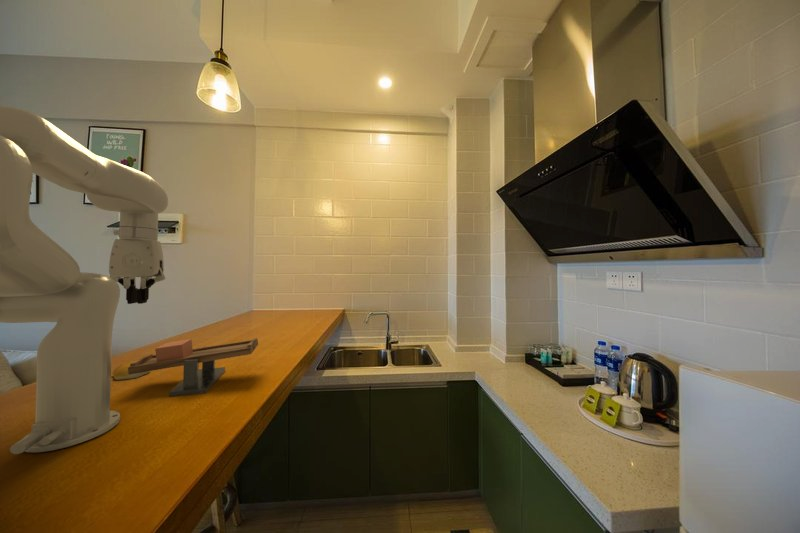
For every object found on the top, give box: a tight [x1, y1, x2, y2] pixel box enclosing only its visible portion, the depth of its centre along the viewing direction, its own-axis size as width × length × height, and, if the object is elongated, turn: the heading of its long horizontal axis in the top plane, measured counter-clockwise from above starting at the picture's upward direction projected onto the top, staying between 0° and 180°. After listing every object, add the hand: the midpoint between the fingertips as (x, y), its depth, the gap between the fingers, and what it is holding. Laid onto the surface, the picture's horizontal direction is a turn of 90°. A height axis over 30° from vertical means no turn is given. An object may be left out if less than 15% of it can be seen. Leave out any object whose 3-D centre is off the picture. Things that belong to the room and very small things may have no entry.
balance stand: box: [168, 359, 226, 398], centre depth 78 cm, size 16×8×8 cm, turn 17°
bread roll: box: [112, 359, 151, 381], centre depth 83 cm, size 8×9×4 cm
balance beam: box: [128, 337, 259, 374], centre depth 78 cm, size 11×28×3 cm, turn 107°
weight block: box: [154, 338, 194, 362], centre depth 76 cm, size 6×6×4 cm
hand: (137, 302), depth 74 cm, fingers closed
